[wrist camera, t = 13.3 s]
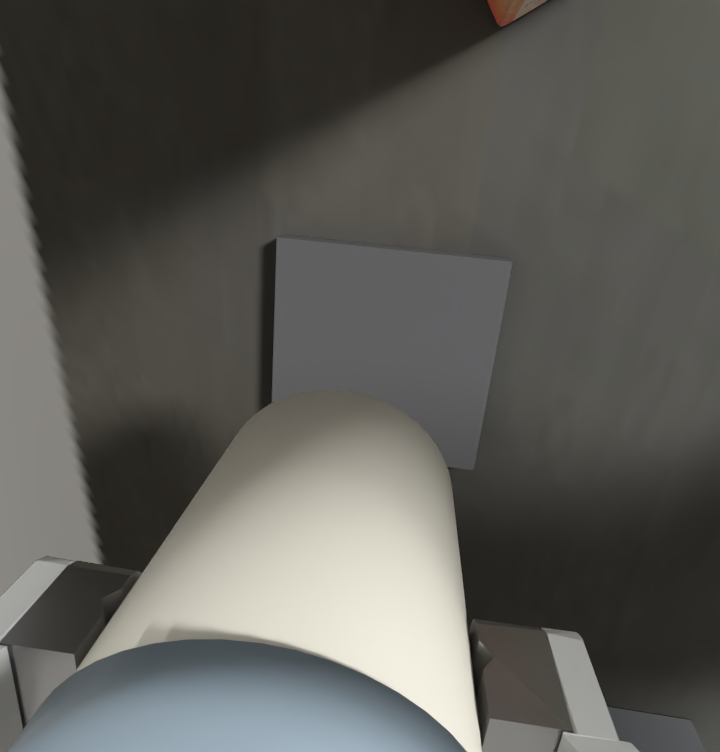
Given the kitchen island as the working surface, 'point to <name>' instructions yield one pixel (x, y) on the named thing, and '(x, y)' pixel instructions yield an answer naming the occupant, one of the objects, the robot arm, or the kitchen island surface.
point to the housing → (655, 731)
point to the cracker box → (511, 9)
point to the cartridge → (290, 603)
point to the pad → (392, 331)
